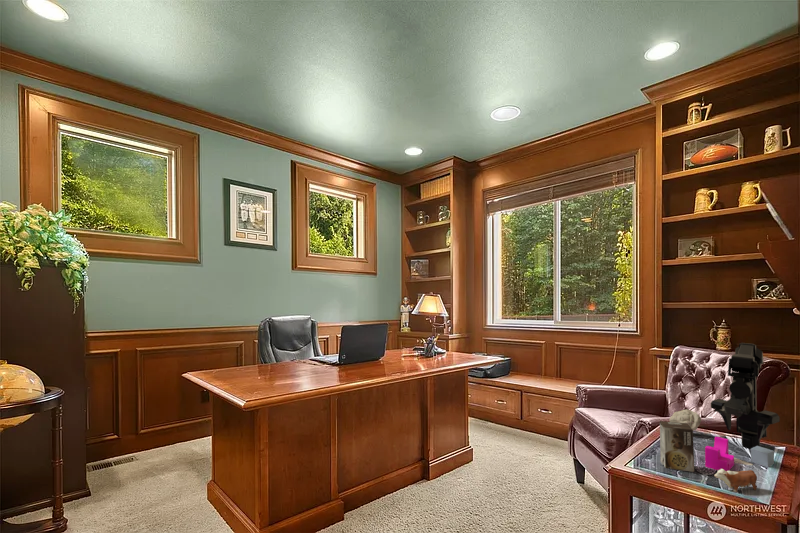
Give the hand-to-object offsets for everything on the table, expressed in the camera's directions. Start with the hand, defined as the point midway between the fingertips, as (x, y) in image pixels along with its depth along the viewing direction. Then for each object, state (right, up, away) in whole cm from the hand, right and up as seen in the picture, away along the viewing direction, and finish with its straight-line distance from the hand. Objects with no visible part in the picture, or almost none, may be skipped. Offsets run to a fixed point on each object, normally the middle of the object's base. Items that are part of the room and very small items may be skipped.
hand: (743, 434), depth 149 cm
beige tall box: (-24, -13, 0) cm, 28 cm away
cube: (+10, -12, +4) cm, 16 cm away
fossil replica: (+1, -13, +33) cm, 35 cm away
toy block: (-6, -12, +2) cm, 14 cm away
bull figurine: (-16, -13, -17) cm, 26 cm away
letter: (-2, -12, +4) cm, 13 cm away
